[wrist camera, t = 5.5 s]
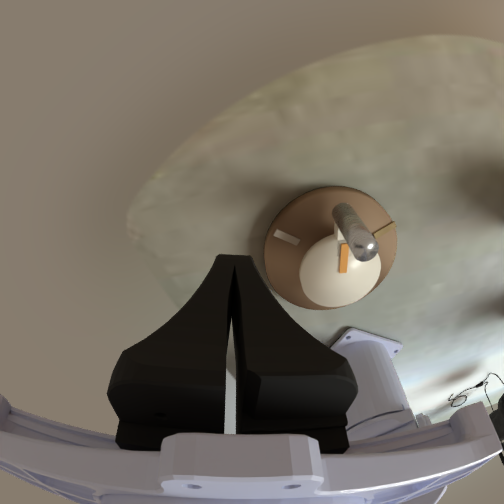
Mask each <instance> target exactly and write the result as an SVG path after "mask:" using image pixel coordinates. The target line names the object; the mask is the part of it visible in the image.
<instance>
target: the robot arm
mask: <svg viewBox="0 0 504 504" xmlns="http://www.w3.org/2000/svg"><path fill="white" fill-rule="evenodd" d="M231 317H232V327H233V338H234V348H235V358H236V434H224V422H225V391H226V354H227V347H228V339H229V332H230V324H231ZM402 348H403V345H402V343H399V342H396V341H393V340H390V339H387V338H383V337H380V336H377V335H374V334H371V333H367V332H364V331H361V330H358V329H355V328H350V329H348V330H347V331H346V332H345V333H344V334H343V335H342V336H341V337H340V338H339V339H338V340H337V341H336V342H335V344H334V345H333V346H332V347H331V348H328V347H327V346H325V345H324V344H322V343H321V342H320V341H318V340H317V339H315V338H314V337H313V336H311V335H310V334H309V333H308V332H307V331H305V330H304V329H303V328H302V327H301V326H300V325H299V324H297V323H296V322H295V321H294V320H293V319H292V318H291V317H290V315H289V314H288V313H287V312H286V311H285V310H284V309H283V308H282V306H281V305H280V304H279V303H278V301H277V300H276V299H275V297H274V296H273V295H272V293H271V292H270V290H269V289H268V287H267V285H266V284H265V282H264V281H263V279H262V277H261V276H260V274H259V272H258V270H257V268H256V266H255V264H254V261H253V258H252V257H251V256H245V255H225V254H219V255H218V256H216V259H215V261H214V264H213V266H212V268H211V269H210V271H209V273H208V274H207V276H206V278H205V279H204V281H203V282H202V284H201V285H200V287H199V288H198V289H197V290H196V292H195V293H194V294H193V296H192V297H191V298H190V299H189V301H188V302H187V303H186V304H185V305H184V306H183V307H182V308H181V309H180V310H179V311H178V312H177V313H176V314H175V315H174V316H173V317H172V318H171V319H170V320H169V321H168V322H167V323H165V324H164V325H163V326H162V327H160V328H159V329H158V330H156V331H155V332H154V333H152V334H151V335H149V336H148V337H147V338H145V339H144V340H142V341H140V342H139V343H137V344H135V345H133V346H132V347H130V348H128V349H126V350H124V351H123V352H122V354H121V356H120V358H119V360H118V362H117V364H116V366H115V368H114V370H113V373H112V376H111V380H110V383H109V387H108V391H107V396H108V399H109V401H110V403H111V405H112V407H113V409H114V411H115V412H116V414H117V416H118V418H119V425H118V429H117V434H116V436H114V435H109V434H104V433H99V432H95V431H91V430H86V429H82V428H78V427H74V426H70V425H67V424H63V423H60V422H56V421H53V420H49V419H46V418H43V417H40V416H37V415H34V414H31V413H28V412H25V411H22V410H19V409H17V408H14V407H12V406H11V405H10V404H9V402H8V401H7V399H6V398H5V397H4V396H2V395H1V394H0V469H1V470H3V471H5V472H7V473H9V474H11V475H13V476H15V477H17V478H19V479H21V480H23V481H25V482H28V483H30V484H32V485H34V486H37V487H39V488H41V489H43V490H46V491H48V492H50V493H53V494H55V495H58V496H60V497H63V498H66V499H68V500H71V501H74V502H77V503H80V504H436V503H437V502H438V501H439V500H440V498H441V497H442V496H443V494H444V493H445V491H446V490H447V485H448V484H450V483H453V482H455V481H457V480H459V479H461V478H464V477H466V476H467V475H469V474H470V473H472V472H473V471H475V470H477V469H478V468H480V467H481V466H482V465H483V464H485V463H486V462H488V461H490V460H491V459H492V458H493V457H495V456H496V455H498V454H499V453H500V452H502V450H503V448H502V445H501V443H500V440H499V438H498V435H497V433H496V431H495V428H494V426H493V424H492V422H491V419H490V417H489V415H488V413H487V410H486V408H485V406H484V404H483V402H481V401H480V402H477V403H474V404H471V405H468V406H465V407H463V408H461V409H459V410H457V411H456V412H455V413H454V414H453V415H452V416H451V417H450V419H449V420H446V421H443V422H439V423H436V424H431V421H430V419H429V417H428V416H426V415H423V414H418V415H416V419H417V421H416V419H415V417H414V415H413V412H412V410H411V408H410V406H409V403H408V401H407V398H406V395H405V393H404V390H403V387H402V385H401V382H400V380H399V377H398V375H397V372H396V370H395V367H394V365H393V362H392V360H391V359H392V358H393V357H394V356H395V355H396V354H397V353H398V352H399V351H400V350H401V349H402ZM417 422H418V424H417ZM418 425H419V427H418Z"/></svg>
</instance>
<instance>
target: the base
mask: <svg viewBox="0 0 504 504" xmlns="http://www.w3.org/2000/svg"><path fill="white" fill-rule="evenodd" d="M339 203H348V204H350V205H351V206H352V207H353V209H354V210H355V212H356V213H357V214H358V216H359V217H360V218H361V220H362V221H363V222H364V224H365V225H366V227H367V228H368V229H369V231H370V232H371V234H372V235H373V237H374V238H375V239H376V241H377V242H378V245H379V250H378V255H379V257H380V261H381V271H380V275H379V278H378V280H377V282H376V284H375V285H374V287H373V288H372V289H371V290H370V291H369V292H368V293H367V294H366V295H368V294H369V293H370V292H372V291H373V290H374V289H375V288H376V287H377V286H378V285H379V284H380V283H381V282H382V281H383V279H384V278H385V277H386V275H387V274H388V272H389V270H390V269H391V267H392V264H393V262H394V259H395V255H396V250H397V235H396V230H395V228H396V224H395V222H394V221H393V222H392V220H391V218H390V216H389V215H388V213H387V212H386V211H385V210H384V209H383V208H382V206H381V205H380V204H379V203H378V202H377V201H376V200H375V199H373V198H372V197H371V196H369V195H368V194H366V193H364V192H362V191H360V190H357V189H354V188H349V187H341V186H332V187H324V188H319V189H315V190H313V191H310V192H307V193H305V194H303V195H301V196H299V197H298V198H296V199H295V200H293V201H292V202H290V203H289V204H288V205H287V206H286V207H285V208H283V209H282V211H281V212H280V213H279V214H278V215H277V216H276V218H275V219H274V221H273V222H272V224H271V226H270V228H269V230H268V233H267V236H266V239H265V244H264V259H265V267H266V273H267V276H268V279H269V281H270V283H271V285H272V286H273V288H274V289H275V291H276V292H277V293H278V294H279V295H280V296H281V297H283V298H284V299H285V300H287V301H288V302H290V303H292V304H294V305H297V306H299V307H303V308H306V309H313V310H329V309H336V308H340V307H344V306H340V307H326V306H321V305H318V304H316V303H314V302H313V301H311V300H310V299H309V298H308V297H307V296H306V295H305V293H304V291H303V289H302V285H301V281H300V277H299V269H300V264H301V261H302V259H303V257H304V255H305V254H306V253H307V251H308V250H309V249H310V248H311V247H312V246H313V245H314V244H315V243H317V242H318V241H320V240H321V239H323V238H325V237H327V236H330V235H333V234H334V226H335V221H334V219H333V218H332V210H333V208H334V207H335V206H336V205H337V204H339ZM366 295H365V296H366ZM365 296H364V297H365ZM362 298H363V297H362ZM362 298H361V299H362ZM359 300H360V299H359ZM351 304H352V303H351ZM345 306H346V305H345Z"/></svg>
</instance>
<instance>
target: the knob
mask: <svg viewBox="0 0 504 504" xmlns="http://www.w3.org/2000/svg"><path fill="white" fill-rule="evenodd" d="M332 218H333V219H334V221H335V226H334V234H333V235H330V236H327V237H325V238H323V239H321V240H320V241H318V242H317V243H315V244H314V245H313V246H312V247H311V248H310V249H309V250H308V251H307V253H306V254H305V255H304V257H303V259H302V261H301V264H300V269H299V277H300V281H301V285H302V289H303V291H304V293H305V295H306V296H307V297H308V298H309V299H310V300H311V301H313V302H314V303H316V304H318V305H321V306H326V307H340V306H345V305H349V304H351V303H354V302H356V301H358V300H359V299H361V298H362V297H364V296H365V295H366V294H367V293H368V292H369V291H370V290H371V289H372V288H373V287H374V285H375V284H376V282H377V280H378V278H379V275H380V271H381V261H380V257H379V255H378V250H379V245H378V242H377V241H376V239H375V238H374V237H373V235H372V234H371V232H370V231H369V229H368V228H367V227H366V225H365V224H364V222H363V221H362V220H361V218H360V217H359V216H358V214H357V213H356V212H355V210H354V209H353V207H352V206H351V205H350V204H348V203H339V204H337V205H336V206H335V207H334V208H333V210H332Z"/></svg>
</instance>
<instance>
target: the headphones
mask: <svg viewBox="0 0 504 504" xmlns="http://www.w3.org/2000/svg"><path fill="white" fill-rule="evenodd" d="M490 374H491V373H490ZM490 374H489V375H490ZM492 374H494V373H492ZM489 375H488V376H489ZM494 375H496V374H494ZM496 376H497V377H498V378H499V376H498V375H496ZM487 378H488V377H487ZM487 378H486V379H487ZM486 379H485V380H486ZM499 379H500V378H499ZM485 380H484V381H485ZM500 380H501V379H500ZM484 381H482V382H481V383H480V384H478V385H476V388H478V387H480V386H482V385H483V382H484ZM501 382H502V380H501ZM485 383H487V382H485ZM485 383H484V384H485ZM502 383H503V382H502ZM487 384H488V383H487ZM487 384H486V385H487ZM503 384H504V383H503ZM486 385H485V387H486ZM473 388H475V387H473ZM470 389H472V388H470ZM467 390H468V389H467ZM465 391H466V390H465ZM463 392H464V391H463ZM485 393H486V389H485ZM460 394H461V393H460ZM460 394H459V395H460ZM451 396H452V395H451ZM465 396H466V395H465ZM486 396H487V394H486ZM459 397H462V396H459ZM459 397H458V398H459ZM487 398H488V396H487ZM449 399H450V398H449ZM456 399H457V398H456ZM456 399H452V400H453V401H454V400H456ZM466 399H467V396H466ZM488 400H489V398H488ZM448 401H451V400H448ZM465 401H466V400H465ZM489 402H490V400H489ZM463 403H464V402H463ZM463 403H462V404H463ZM452 404H453V402H452ZM452 404H451V406H452ZM462 404H461V405H462ZM490 404H491V403H490ZM458 406H460V405H458ZM491 406H492V405H491ZM452 407H453V406H452ZM454 407H457V406H454ZM492 410H493V408H492ZM489 417H490V419H491V422H492V424H493V426H494V428H495V431H496V433H497V435H498V438H499V440H500V441H501V445H502V448H503V450H502V451H504V443H502V440H504V394H503V395H502V396H501V398H500V399H499V402H498V409H497V410H495V411H493V412H492V413H491V414H490V415H489ZM499 456H500V458H501V461H502V463H503V465H504V456H503V454H502V452H500V453H499Z"/></svg>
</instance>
